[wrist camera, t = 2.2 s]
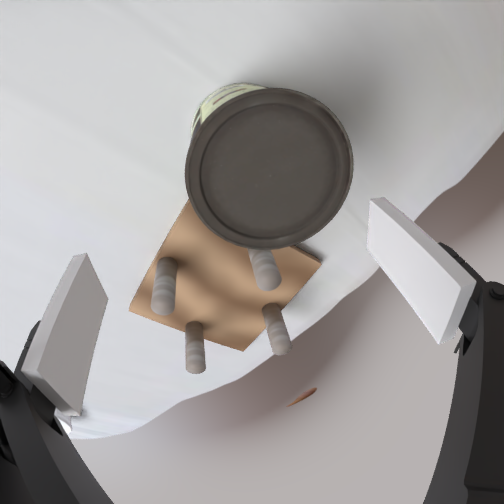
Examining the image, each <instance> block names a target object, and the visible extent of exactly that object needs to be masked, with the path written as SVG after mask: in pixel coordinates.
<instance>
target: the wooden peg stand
mask: <svg viewBox="0 0 504 504" xmlns="http://www.w3.org/2000/svg"><path fill="white" fill-rule="evenodd" d="M321 265H322V264H321V262H320V261H319V259H317V258H316V257H314V256H312V255H310V254H309V253H307V252H305V251H303V250H301V249H300V248H298V247H296V246H294V245H292V246H289V247H285V248H281V249H274V250H253V249H248V248H243V247H240V246H236V245H234V244H232V243H229V242H227V241H225V240H224V239H222V238H220V237H219V236H217V235H215V234H214V233H213V232H212V231H210V230H209V229H208V228H207V227H206V226H205V225H204V224H203V223H202V221H201V220H200V219H199V217H198V216H197V214H196V213H195V211H194V209H193V207H192V205H191V203H190V200H189V199H188V201H187V203H186V204H185V206H184V208H183V209H182V211H181V213H180V214H179V216H178V218H177V219H176V221H175V223H174V225H173V226H172V228H171V230H170V232H169V233H168V235H167V237H166V239H165V240H164V242H163V244H162V246H161V247H160V249H159V251H158V253H157V255H156V256H155V258H154V260H153V262H152V264H151V266H150V267H149V269H148V271H147V273H146V275H145V277H144V279H143V281H142V282H141V284H140V286H139V288H138V290H137V292H136V294H135V296H134V298H133V300H132V302H131V304H130V307H129V311H130V312H133V313H135V314H138V315H140V316H143V317H146V318H148V319H151V320H153V321H156V322H158V323H161V324H164V325H166V326H169V327H172V328H175V329H177V330H180V331H183V332H185V347H186V370H187V371H188V372H189V373H192V374H199V373H202V372H204V371H205V369H206V365H205V351H204V339H206V340H209V341H212V342H215V343H218V344H221V345H224V346H227V347H230V348H233V349H237V350H240V351H244V350H245V349H246V348H247V347H248V346H249V345H250V344H251V343H252V342H253V341H254V340H255V339H256V338H257V336H258V335H259V334H260V333H261V332H262V331H263V330H264V329H265V328H266V329H267V332H268V336H269V340H270V344H271V347H272V351H273V353H274V354H276V355H284V354H286V353H288V352H290V351H291V349H292V344H291V341H290V338H289V335H288V332H287V329H286V325H285V322H284V319H283V316H282V313H281V310H282V309H283V308H284V307H285V306H286V305H287V304H288V303H289V301H290V300H291V299H292V298H293V297H294V296H295V295H296V294H297V292H298V291H299V290H300V289H301V288H302V287H303V286H304V284H305V283H306V282H307V281H308V280H309V279H310V278H311V276H312V275H313V274H314V273H315V272H316V271H317V269H318V268H319V267H320V266H321Z"/></svg>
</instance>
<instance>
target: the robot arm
mask: <svg viewBox="0 0 504 504" xmlns="http://www.w3.org/2000/svg"><path fill="white" fill-rule="evenodd" d="M367 251H368V252H369V253H370V254H371V255H372V257H373V258H374V259H375V260H376V262H377V263H378V264H379V265H380V267H381V268H382V269H383V270H384V272H385V273H386V274H387V275H388V277H389V278H390V279H391V281H392V282H393V283H394V284H395V286H396V287H397V288H398V289H399V291H400V292H401V294H402V295H403V296H404V298H405V299H406V300H407V302H408V303H409V304H410V305H411V307H412V308H413V310H414V311H415V312H416V314H417V315H418V316H419V318H420V319H421V321H422V322H423V323H424V325H425V326H426V328H427V329H428V330H429V332H430V333H431V334H432V336H433V338H434V339H435V340H436V342H437V343H438V345H439V344H442V343H444V342H446V341H449V340H451V339H453V338H454V336H455V334H456V331H457V329H458V327H459V328H460V330H461V331H462V332H463V334H462V336H461V338H460V340H459V343H458V344H457V347H456V348H455V351H454V353H457V351H458V349H459V348H460V349H459V358H458V367H457V374H456V381H455V388H454V394H453V399H452V404H451V409H450V414H449V419H448V424H447V428H446V432H445V436H444V440H443V444H442V448H441V451H440V455H439V459H438V462H437V465H436V468H435V472H434V475H433V478H432V481H431V484H430V486H429V490H428V492H427V495H426V497H425V500H424V502H423V504H504V285H502V284H500V283H498V282H492V281H490V282H486V281H484V279H483V278H482V277H481V276H480V275H479V274H478V273H477V272H476V271H475V270H474V269H473V268H472V267H471V266H470V265H469V264H468V263H465V260H463V259H462V258H461V257H459V255H458V254H457V253H456V252H455V251H454V250H453V249H452V248H450V247H448V246H447V245H445V244H443V243H437V242H436V241H434V240H433V239H432V238H431V237H430V236H429V235H428V234H427V233H426V232H424V231H423V230H422V229H421V228H420V227H419V226H418V225H416V224H415V223H414V222H413V221H412V220H411V219H410V218H408V217H407V216H406V215H405V214H404V213H402V212H401V211H400V210H399V209H398V208H396V207H395V206H394V205H393V204H392V203H390V202H389V201H388V200H387V199H385V198H384V197H381V198H375V199H370V207H369V223H368V237H367ZM107 302H108V297H107V295H106V293H105V291H104V289H103V287H102V285H101V283H100V281H99V279H98V277H97V275H96V272H95V270H94V268H93V266H92V264H91V261H90V259H89V257H88V255H87V253H85V254H80V255H76V256H73V258H72V260H71V261H70V263H69V265H68V267H67V269H66V271H65V273H64V274H63V276H62V278H61V280H60V282H59V284H58V286H57V288H56V290H55V292H54V294H53V296H52V298H51V300H50V302H49V304H48V307H47V309H46V311H45V313H44V315H43V317H42V320H41V321H38V322H37V324H36V325H35V326H34V327H33V329H32V330H31V332H30V334H29V336H28V339H27V342H26V344H25V346H24V349H23V351H22V353H21V356H20V358H19V361H18V363H17V366H16V369H15V371H14V374H13V372H12V371H11V370H10V369H9V368H8V367H7V366H6V364H5V363H4V362H3V361H0V504H114V503H113V502H112V501H111V499H110V498H109V497H108V496H107V494H106V493H105V492H104V490H103V489H102V488H101V486H100V485H99V483H98V482H97V481H96V479H95V478H94V476H93V475H92V473H91V472H90V470H89V469H88V467H87V466H86V464H85V463H84V461H83V460H82V458H81V457H80V455H79V454H78V452H77V450H76V449H75V447H74V445H73V444H72V442H71V440H70V439H69V437H68V435H67V434H66V432H65V430H64V428H63V426H62V425H61V423H60V421H59V419H58V418H57V417H56V416H55V415H54V413H55V409H56V408H57V409H58V410H59V411H60V412H61V413H62V414H63V415H64V416H80V415H81V410H82V404H83V399H84V394H85V389H86V384H87V379H88V375H89V370H90V366H91V362H92V357H93V353H94V349H95V345H96V341H97V338H98V334H99V330H100V326H101V323H102V319H103V316H104V312H105V309H106V305H107Z"/></svg>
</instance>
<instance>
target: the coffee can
mask: <svg viewBox="0 0 504 504" xmlns="http://www.w3.org/2000/svg"><path fill="white" fill-rule="evenodd" d="M352 177H353V153H352V147H351V144H350V140H349V138H348V135H347V133H346V131H345V129H344V127H343V125H342V124H341V122H340V121H339V120H338V118H337V117H336V116H335V115H334V114H333V112H332V111H331V110H330V109H329V108H327V107H326V106H325V105H324V104H322V103H321V102H320V101H318V100H316V99H314V98H312V97H310V96H308V95H306V94H303V93H301V92H298V91H294V90H290V89H282V88H268V87H262V86H258V85H255V84H249V83H238V84H232V85H228V86H225V87H222V88H220V89H218V90H217V91H215V92H213V93H212V94H211V95H209V96H208V97H207V98H206V99H205V100H204V101H203V102H202V103H201V104H200V106H199V108H198V109H197V111H196V113H195V116H194V118H193V122H192V127H191V143H190V147H189V150H188V154H187V158H186V164H185V183H186V189H187V193H188V197H189V200H190V203H191V205H192V207H193V209H194V211H195V213H196V214H197V216H198V217H199V219H200V220H201V221H202V223H203V224H204V225H205V226H206V227H207V228H208V229H209V230H210V231H212V232H213V233H214V234H215V235H217V236H219V237H220V238H222V239H224V240H225V241H227V242H229V243H232V244H234V245H236V246H240V247H243V248H248V249H253V250H274V249H281V248H285V247H289V246H292V245H295V244H298V243H300V242H302V241H305V240H306V239H308V238H310V237H312V236H313V235H315V234H316V233H318V232H319V231H320V230H321V229H323V228H324V227H325V226H326V225H327V224H328V223H329V222H330V221H331V220H332V219H333V218H334V216H335V215H336V214H337V213H338V211H339V210H340V208H341V207H342V205H343V203H344V201H345V199H346V197H347V195H348V192H349V189H350V186H351V182H352Z"/></svg>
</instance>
